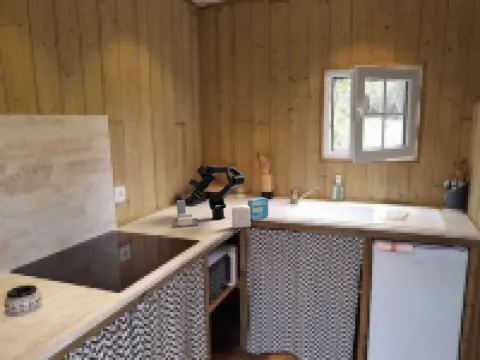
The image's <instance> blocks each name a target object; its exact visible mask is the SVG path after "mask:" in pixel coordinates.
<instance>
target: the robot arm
mask: <svg viewBox="0 0 480 360" xmlns="http://www.w3.org/2000/svg"><path fill="white" fill-rule="evenodd" d="M196 173H197V174H198V176H199V177H200V178H201V179H200V180H199V181H198V180H197V179H195V178H190V179H189V181H188V185H191V186H192V192H191V194H190V195H189V197H188V201H187V202H188V203H189V204H190V203H193V202H195V201H197V200H199V199H201V198H202V197H203V195H204V192H205V191H206V190H207V189H208V188H209V186H210V185H212V183H213V182H216V183H217V181H218V180H217V176H216V175H217V174H225V175H226V180H227V184H225V186H224V187H222V189H221V190H220V191H218V192H216V193H212V194H211V195H210V196H209V199H208V204H209V209H210V210H211V216H212V217H211V218H210V219H211V220H217V221H221V220H223V219H225V218H226V216H225V209H226V207H227V204H226V202H225V198H226V197H227V196H229V195H230V194H231V192H233V190H234V189H235V188H238V187H240V186H242V185H244V184H245V177H244V176H243V174H242V172H241V171H239V170H237V169H236V168H235V166H233V165H229V166H227V165H226V166H219V165H217V164H210V165H205V166H204V165H200V166H199V167H198V168H197V170H196ZM230 174H232V175H230ZM214 175H215V176H214Z"/></svg>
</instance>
